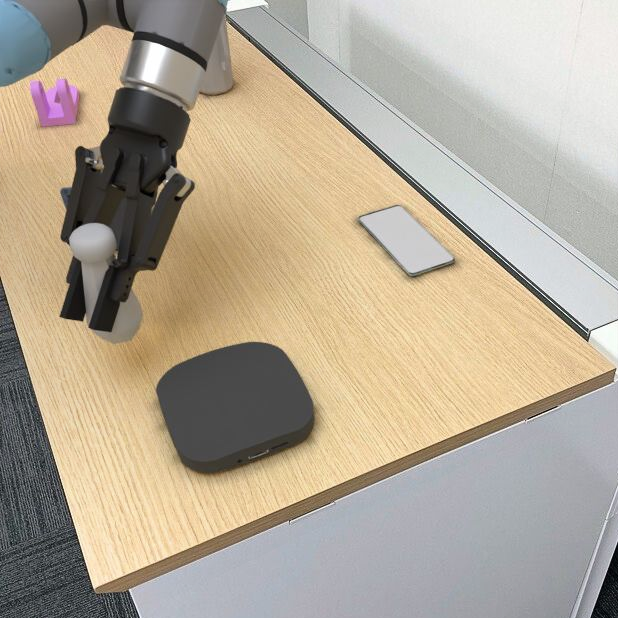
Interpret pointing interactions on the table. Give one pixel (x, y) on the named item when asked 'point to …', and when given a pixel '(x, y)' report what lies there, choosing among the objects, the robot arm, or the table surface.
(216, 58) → the water bottle
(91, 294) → the salt shaker
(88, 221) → the robot arm
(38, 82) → the bracket
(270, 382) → the media streaming box
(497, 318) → the table surface
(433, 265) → the smartphone
